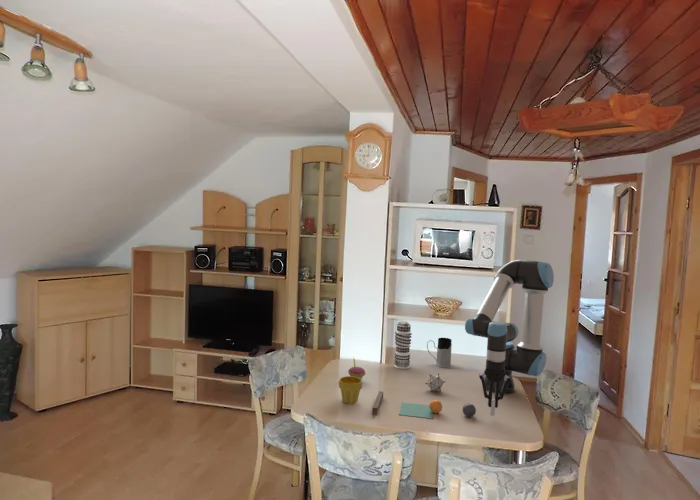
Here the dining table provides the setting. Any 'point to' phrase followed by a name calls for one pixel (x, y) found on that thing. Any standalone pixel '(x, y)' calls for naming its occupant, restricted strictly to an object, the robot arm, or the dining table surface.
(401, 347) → the decorative candle
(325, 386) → the dining table surface
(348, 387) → the plant pot
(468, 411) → the dark grey ball
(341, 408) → the dining table surface
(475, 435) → the dining table surface
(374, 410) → the walnut stopper
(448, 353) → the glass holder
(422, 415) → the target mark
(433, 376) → the grey spiky polyhedron
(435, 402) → the orange ball
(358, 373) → the cupcake
